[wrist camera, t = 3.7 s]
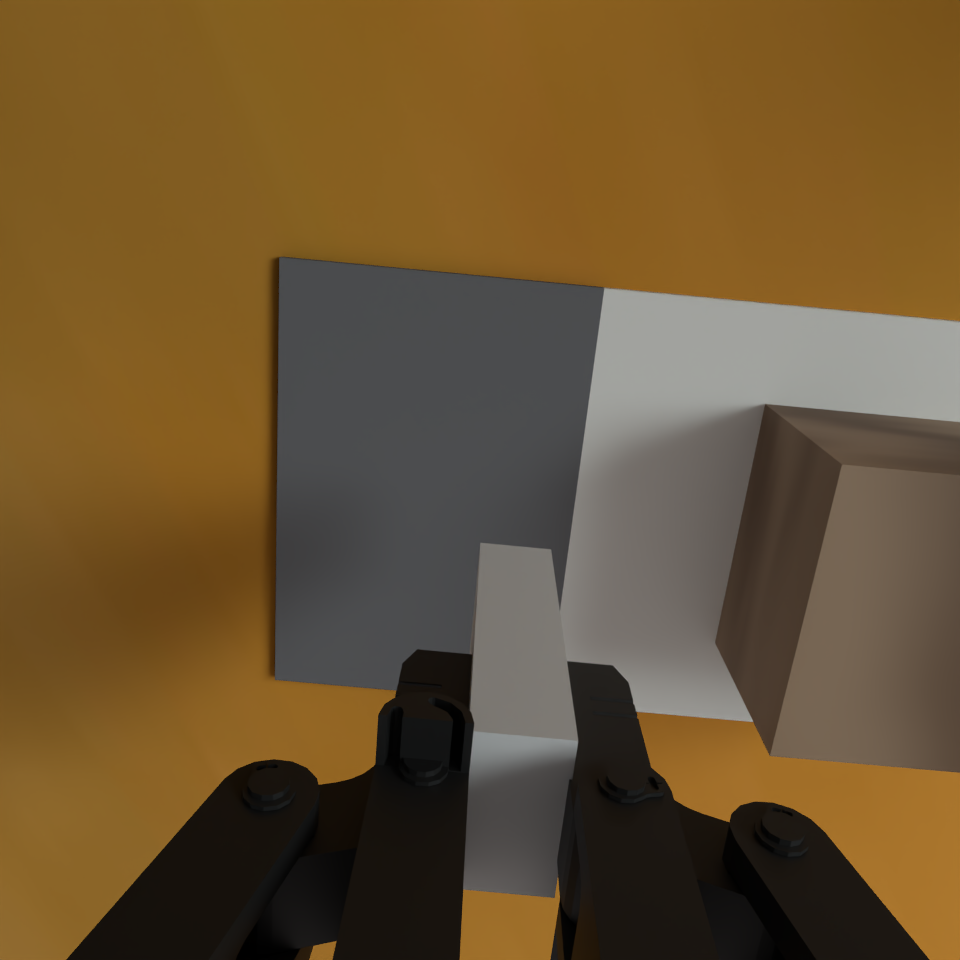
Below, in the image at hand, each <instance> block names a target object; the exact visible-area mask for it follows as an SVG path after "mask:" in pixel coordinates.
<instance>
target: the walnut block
mask: <svg viewBox="0 0 960 960" xmlns="http://www.w3.org/2000/svg"><path fill="white" fill-rule="evenodd" d="M715 644H716V646H717V648H718V650H719V652H720V654H721V656H722V658H723V660H724V662H725V664H726V667H727V669H728V671H729V673H730V675H731V677H732V679H733V681H734V683H735V685H736V687H737V689H738V691H739V693H740V695H741V697H742V699H743V701H744V704H745V706H746V708H747V710H748V712H749V714H750V716H751V718H752V720H753V722H754V724H755V726H756V728H757V730H758V732H759V734H760V736H761V738H762V741H763V743H764V745H765V747H766V749H767V751H768V753H769V755H770V756H777V757H788V758H800V759H811V760H823V761H834V762H845V763H857V764H868V765H880V766H891V767H902V768H914V769H925V770H937V771H948V772H959V773H960V422H954V421H943V420H932V419H922V418H911V417H900V416H890V415H879V414H868V413H857V412H847V411H836V410H825V409H815V408H804V407H793V406H782V405H772V404H765V407H764V411H763V416H762V421H761V426H760V431H759V435H758V440H757V445H756V450H755V454H754V459H753V464H752V469H751V473H750V478H749V483H748V488H747V492H746V497H745V502H744V507H743V512H742V516H741V521H740V526H739V531H738V535H737V540H736V545H735V550H734V554H733V559H732V564H731V569H730V573H729V578H728V583H727V588H726V593H725V597H724V602H723V607H722V612H721V616H720V621H719V626H718V631H717V635H716V640H715Z"/></svg>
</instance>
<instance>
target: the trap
mask: <svg viewBox="0 0 960 960" xmlns="http://www.w3.org/2000/svg"><path fill="white" fill-rule="evenodd" d="M603 295H604V288H603V287H596V286H585V285H575V284H564V283H554V282H543V281H532V280H522V279H511V278H501V277H490V276H480V275H469V274H459V273H448V272H438V271H427V270H417V269H406V268H395V267H385V266H374V265H364V264H353V263H343V262H332V261H322V260H311V259H301V258H290V257H279V343H278V438H277V532H276V627H275V680H284V681H295V682H307V683H318V684H329V685H341V686H352V687H363V688H374V689H386V690H397V686H398V682H399V677H400V672H401V668H402V663H403V662H404V661H405V660H406V659H408V658H409V657H410V656H411V655H412V654H413V653H414V652H415V651H416V650H417V649H420V650H431V651H442V652H453V653H463V654H470V644H471V634H472V624H473V614H474V603H475V593H476V583H477V573H478V563H479V553H480V543H489V544H499V545H510V546H521V547H531V548H542V549H551V553H552V560H553V567H554V574H555V581H556V588H557V595H558V602H559V609H560V607H561V600H562V593H563V585H564V578H565V571H566V564H567V556H568V549H569V542H570V535H571V527H572V520H573V513H574V505H575V498H576V491H577V484H578V476H579V469H580V462H581V455H582V447H583V440H584V433H585V426H586V418H587V411H588V404H589V396H590V389H591V382H592V375H593V367H594V360H595V353H596V346H597V338H598V331H599V324H600V317H601V309H602V302H603Z"/></svg>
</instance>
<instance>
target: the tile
mask: <svg viewBox="0 0 960 960" xmlns="http://www.w3.org/2000/svg"><path fill="white" fill-rule="evenodd" d="M603 288H604V295H603V302H602V309H601V317H600V324H599V331H598V338H597V346H596V353H595V360H594V367H593V375H592V382H591V389H590V396H589V404H588V411H587V418H586V426H585V433H584V440H583V447H582V455H581V462H580V469H579V476H578V484H577V491H576V498H575V505H574V513H573V520H572V527H571V535H570V542H569V549H568V556H567V564H566V571H565V578H564V585H563V593H562V600H561V607H560V616H561V623H562V630H563V637H564V644H565V651H566V658H567V661H571V662H582V663H593V664H604V665H613V666H614V667H615V668H616V669H617V670H618V672H619V673H620V674H621V675H622V676H623V677H624V678H625V679H626V680H627V681H628V682H629V686H630V690H631V694H632V698H633V704H634V705H635V709H636V712H646V713H658V714H669V715H680V716H692V717H703V718H714V719H726V720H737V721H748V722H753V720H752V718H751V716H750V714H749V712H748V710H747V708H746V706H745V704H744V701H743V699H742V697H741V695H740V693H739V691H738V689H737V687H736V685H735V683H734V681H733V679H732V677H731V675H730V673H729V671H728V669H727V667H726V664H725V662H724V660H723V658H722V656H721V654H720V652H719V650H718V648H717V646H716V644H715V640H716V635H717V631H718V626H719V621H720V616H721V612H722V607H723V602H724V597H725V593H726V588H727V583H728V578H729V573H730V569H731V564H732V559H733V554H734V550H735V545H736V540H737V535H738V531H739V526H740V521H741V516H742V512H743V507H744V502H745V497H746V492H747V488H748V483H749V478H750V473H751V469H752V464H753V459H754V454H755V450H756V445H757V440H758V435H759V431H760V426H761V421H762V416H763V411H764V407H765V404H772V405H782V406H793V407H804V408H815V409H825V410H836V411H847V412H857V413H868V414H879V415H890V416H900V417H911V418H922V419H932V420H943V421H954V422H960V321H954V320H943V319H933V318H922V317H912V316H901V315H891V314H880V313H870V312H859V311H849V310H838V309H827V308H817V307H806V306H796V305H785V304H775V303H764V302H754V301H743V300H733V299H722V298H712V297H701V296H691V295H680V294H669V293H659V292H648V291H638V290H627V289H617V288H606V287H603Z"/></svg>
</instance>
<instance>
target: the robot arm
mask: <svg viewBox="0 0 960 960" xmlns="http://www.w3.org/2000/svg"><path fill="white" fill-rule="evenodd" d="M557 878H559V890H560V903H559V909H558V915H557V922H556V928H555V935H554V941H553V948H552V954H551V960H929V959H928V957H927V956H926V955H925V954H924V953H923V951H922V950H921V949H920V948H919V946H918V945H917V944H916V943H915V942H914V940H913V939H912V938H911V937H910V936H909V934H908V933H907V932H906V931H905V929H904V928H903V927H902V926H901V925H900V923H899V922H898V921H897V920H896V918H895V917H894V916H893V915H892V914H891V912H890V911H889V910H888V909H887V908H886V906H885V905H884V904H883V903H882V901H881V900H880V899H879V898H878V897H877V895H876V894H875V893H874V892H873V890H872V889H871V888H870V887H869V886H868V884H867V883H866V882H865V881H864V879H863V878H862V877H861V876H860V875H859V873H858V872H857V871H856V870H855V869H854V867H853V866H852V865H851V864H850V862H849V861H848V860H847V859H846V858H845V856H844V855H843V854H842V853H841V851H840V850H839V849H838V848H837V847H836V845H835V844H834V843H833V842H832V840H831V839H830V838H829V837H828V836H827V834H826V833H825V832H824V831H823V830H822V829H821V828H820V827H819V826H817V825H816V824H815V823H814V822H813V821H812V820H811V819H810V818H808V817H806V816H804V815H802V814H801V813H799V812H797V811H795V810H794V809H791V808H788V807H785V806H782V805H778V804H775V803H768V802H752V803H748V804H744V805H740V806H739V807H738V808H737V809H736V810H735V811H734V812H733V813H732V814H731V819H730V823H729V822H726V821H723V820H720V819H717V818H714V817H711V816H708V815H705V814H702V813H699V812H697V811H694V810H692V809H689V808H687V807H685V806H683V805H682V804H680V803H678V802H677V801H675V800H674V798H673V795H672V791H671V789H670V788H669V786H668V784H667V782H666V781H665V779H664V778H663V777H661V776H660V775H659V774H658V773H657V772H656V771H654V770H653V769H652V768H651V766H650V762H649V758H648V754H647V751H646V747H645V743H644V739H643V735H642V732H641V728H640V724H639V720H638V719H637V713H636V709H635V705H634V704H633V698H632V694H631V690H630V686H629V682H628V681H627V680H626V679H625V678H624V677H623V676H622V675H621V674H620V673H619V672H618V670H617V669H616V668H615V667H614V666H613V665H604V664H593V663H582V662H571V661H567V658H566V651H565V644H564V637H563V630H562V623H561V616H560V609H559V602H558V595H557V588H556V581H555V574H554V567H553V560H552V553H551V549H542V548H531V547H521V546H510V545H499V544H489V543H480V553H479V563H478V573H477V583H476V593H475V603H474V614H473V624H472V634H471V644H470V654H463V653H453V652H442V651H431V650H420V649H417V650H416V651H415V652H414V653H413V654H412V655H411V656H410V657H409V658H408V659H406V660H405V661H404V662H403V663H402V668H401V672H400V677H399V682H398V686H397V691H396V696H395V698H394V699H392V700H391V701H389V702H387V703H386V704H384V706H383V708H382V710H381V711H380V713H379V715H378V731H377V748H376V764H375V765H374V767H372V768H371V769H370V770H368V771H367V772H365V773H364V774H362V775H359V776H357V777H355V778H352V779H349V780H345V781H341V782H336V783H329V784H322V785H318V781H317V778H316V777H315V776H314V775H313V774H312V773H311V772H310V771H309V770H308V769H307V768H306V767H303V766H301V765H299V764H297V763H294V762H291V761H283V760H275V759H273V760H266V761H258V762H253V763H251V764H248V765H246V766H243V767H241V768H238V769H237V770H235V771H234V772H233V773H232V774H230V775H229V776H228V777H226V778H225V779H224V780H223V781H222V782H221V784H220V785H219V786H218V787H217V788H216V789H215V790H214V792H213V793H212V794H211V795H210V796H209V797H208V798H207V800H206V801H205V802H204V803H203V804H202V805H201V806H200V808H199V809H198V810H197V811H196V812H195V813H194V814H193V816H192V817H191V818H190V819H189V820H188V821H187V822H186V824H185V825H184V826H183V827H182V828H181V829H180V830H179V832H178V833H177V834H176V835H175V836H174V837H173V838H172V840H171V841H170V842H169V843H168V844H167V845H166V846H165V848H164V849H163V850H162V851H161V852H160V853H159V854H158V856H157V857H156V858H155V859H154V860H153V861H152V862H151V864H150V865H149V866H148V867H147V868H146V869H145V870H144V872H143V873H142V874H141V875H140V876H139V877H138V878H137V880H136V881H135V882H134V883H133V884H132V885H131V886H130V888H129V889H128V890H127V891H126V892H125V893H124V894H123V896H122V897H121V898H120V899H119V900H118V901H117V902H116V904H115V905H114V906H113V907H112V908H111V909H110V910H109V912H108V913H107V914H106V915H105V916H104V917H103V918H102V920H101V921H100V922H99V923H98V924H97V925H96V926H95V928H94V929H93V930H92V931H91V932H90V933H89V934H88V936H87V937H86V938H85V939H84V940H83V941H82V942H81V944H80V945H79V946H78V947H77V948H76V949H75V950H74V952H73V953H72V954H71V955H70V956H69V957H68V958H67V960H309V958H310V955H311V952H312V949H313V946H314V945H319V944H323V943H328V942H333V941H337V942H336V947H335V951H334V956H333V960H459V958H460V939H461V920H462V901H463V889H465V890H476V891H487V892H498V893H509V894H519V895H530V896H541V897H552V898H554V897H555V891H556V884H557Z"/></svg>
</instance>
